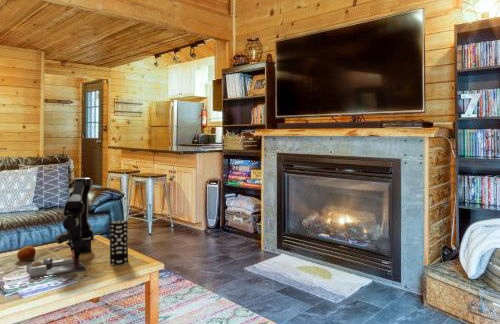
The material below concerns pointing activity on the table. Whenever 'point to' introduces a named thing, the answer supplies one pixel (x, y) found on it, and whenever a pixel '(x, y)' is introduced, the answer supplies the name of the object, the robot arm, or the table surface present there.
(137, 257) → the table surface
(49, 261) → the lever
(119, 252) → the spotted tube
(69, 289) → the table surface
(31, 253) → the fruit
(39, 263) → the wooden ball
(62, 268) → the base
